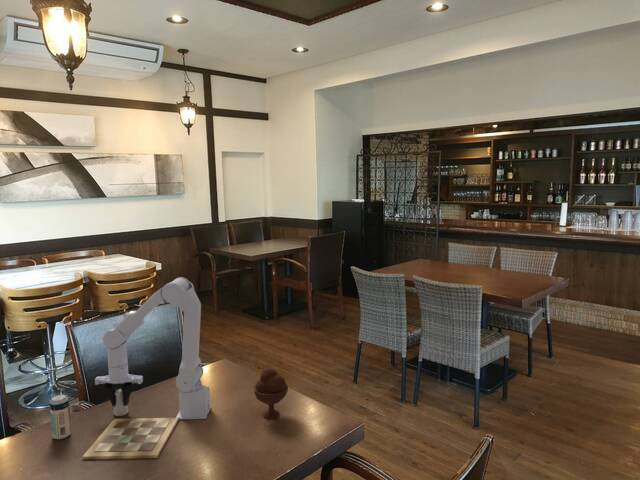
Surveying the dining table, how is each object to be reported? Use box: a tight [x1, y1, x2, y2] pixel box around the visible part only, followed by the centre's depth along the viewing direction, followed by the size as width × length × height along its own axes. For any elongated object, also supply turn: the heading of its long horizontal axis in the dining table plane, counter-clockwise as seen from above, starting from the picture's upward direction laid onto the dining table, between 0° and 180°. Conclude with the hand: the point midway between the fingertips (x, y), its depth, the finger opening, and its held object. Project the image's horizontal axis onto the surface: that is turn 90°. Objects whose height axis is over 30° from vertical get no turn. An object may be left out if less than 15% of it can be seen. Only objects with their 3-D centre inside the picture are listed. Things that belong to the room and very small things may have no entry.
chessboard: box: [82, 417, 180, 460], centre depth 132 cm, size 20×20×1 cm
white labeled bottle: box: [49, 393, 72, 440], centre depth 133 cm, size 5×5×12 cm
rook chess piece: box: [113, 387, 130, 417], centre depth 147 cm, size 4×4×8 cm
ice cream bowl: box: [253, 367, 289, 420], centre depth 144 cm, size 11×11×15 cm
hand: (120, 404), depth 147 cm, fingers closed on rook chess piece, 3 cm apart
